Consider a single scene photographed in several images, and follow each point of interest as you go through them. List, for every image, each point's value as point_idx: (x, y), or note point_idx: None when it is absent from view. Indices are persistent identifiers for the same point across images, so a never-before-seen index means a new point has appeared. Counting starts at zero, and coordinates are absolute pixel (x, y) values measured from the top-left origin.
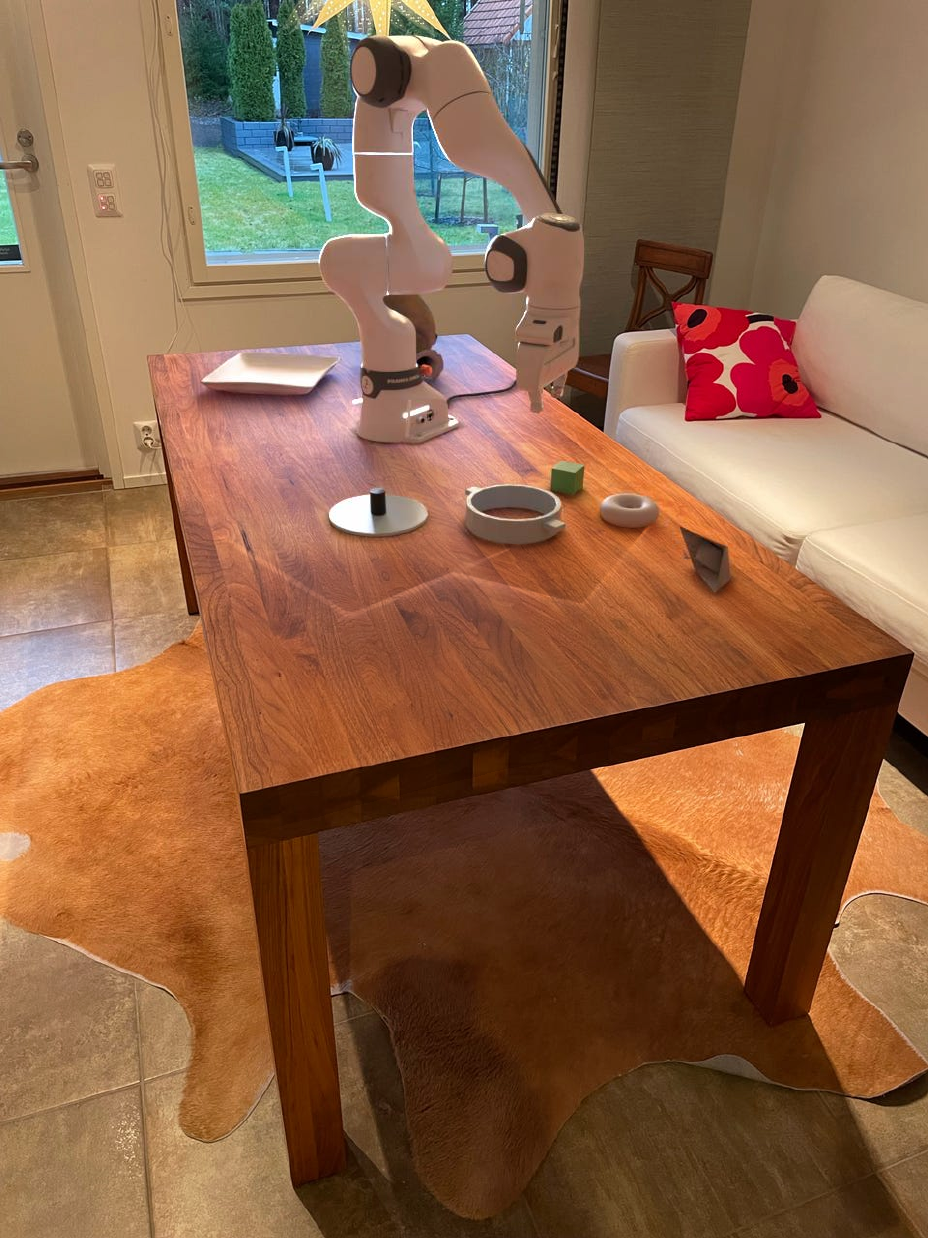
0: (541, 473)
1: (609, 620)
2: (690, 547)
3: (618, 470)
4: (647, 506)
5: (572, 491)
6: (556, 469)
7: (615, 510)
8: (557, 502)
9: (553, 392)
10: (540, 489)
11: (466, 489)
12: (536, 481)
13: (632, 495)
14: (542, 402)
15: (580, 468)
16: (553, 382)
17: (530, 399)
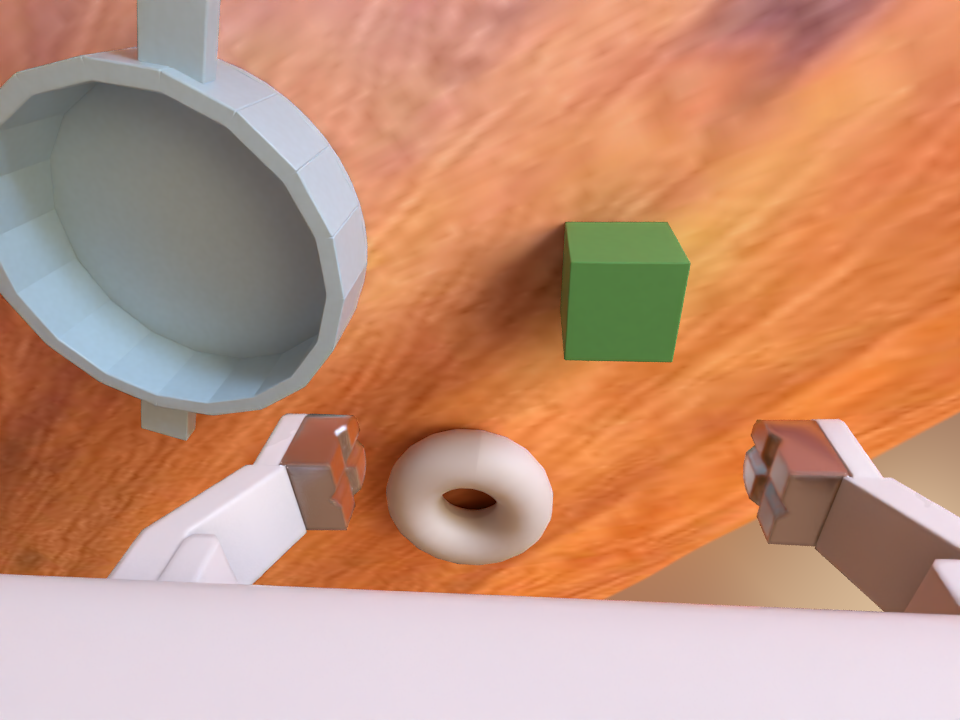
0: (775, 97)
1: (25, 546)
2: None
3: (894, 361)
4: (459, 556)
5: (561, 315)
6: (568, 284)
7: (394, 499)
8: (267, 394)
9: (776, 456)
10: (331, 306)
11: None
12: (662, 120)
13: (517, 515)
14: (314, 527)
15: (624, 360)
16: (880, 499)
17: (218, 486)
